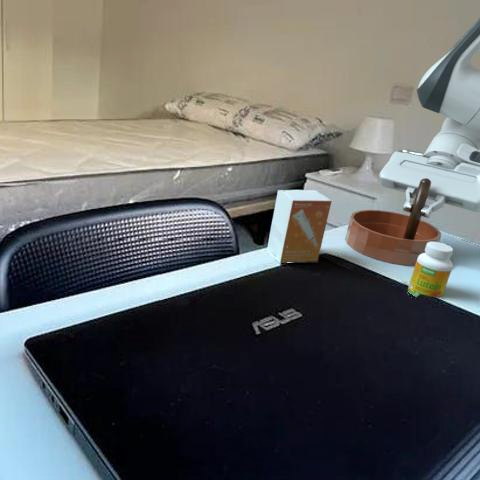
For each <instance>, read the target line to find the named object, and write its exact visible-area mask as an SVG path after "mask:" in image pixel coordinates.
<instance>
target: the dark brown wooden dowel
mask: <svg viewBox="0 0 480 480" xmlns="http://www.w3.org/2000/svg"><path fill="white" fill-rule="evenodd" d="M430 186H431V181H430V180H429V179H428V178H424V179H422V180H421V181H420V183H419V187H418V190H417V193H416V195H415V197H414V199H413V200H414V201H413V202H414V204H413V207H412V210H411V213H409V216H410V217H409V220H408V224H407V227H406V231H405V234H404V237H403V239H409V240H414V239H415V235H416V232H417V229H418V226H419V222H420V220H422V216H421V210H422V209H423V207H424V205H426V203H427V196H428V193H429V190H430Z"/></svg>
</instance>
